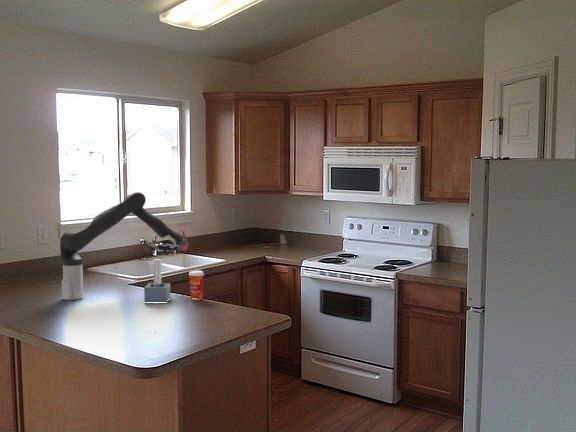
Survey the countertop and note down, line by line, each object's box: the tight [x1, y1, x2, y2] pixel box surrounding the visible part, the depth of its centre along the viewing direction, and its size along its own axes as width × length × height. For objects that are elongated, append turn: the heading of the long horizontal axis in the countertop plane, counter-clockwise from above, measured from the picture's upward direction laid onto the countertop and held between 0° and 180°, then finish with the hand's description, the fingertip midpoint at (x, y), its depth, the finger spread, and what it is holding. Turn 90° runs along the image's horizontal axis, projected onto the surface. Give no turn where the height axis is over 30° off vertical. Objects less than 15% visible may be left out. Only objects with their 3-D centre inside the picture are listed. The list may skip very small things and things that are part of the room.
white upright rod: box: [152, 258, 162, 287], centre depth 309 cm, size 4×4×20 cm
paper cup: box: [188, 270, 205, 300], centre depth 315 cm, size 8×8×14 cm
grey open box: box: [143, 282, 171, 303], centre depth 310 cm, size 11×11×8 cm
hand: (161, 249), depth 319 cm, fingers open, 8 cm apart
